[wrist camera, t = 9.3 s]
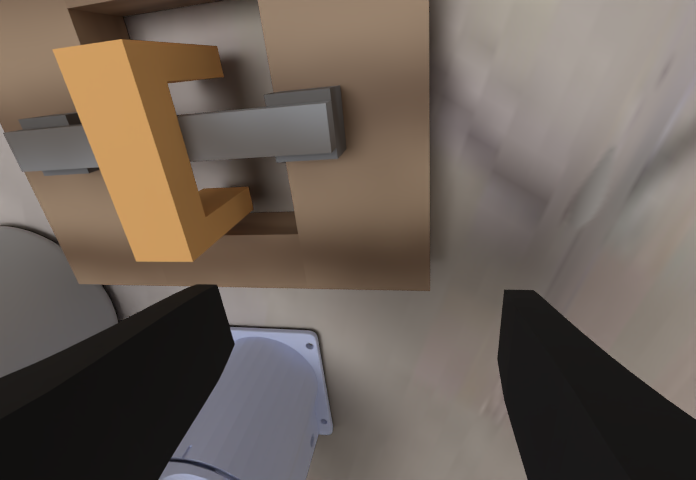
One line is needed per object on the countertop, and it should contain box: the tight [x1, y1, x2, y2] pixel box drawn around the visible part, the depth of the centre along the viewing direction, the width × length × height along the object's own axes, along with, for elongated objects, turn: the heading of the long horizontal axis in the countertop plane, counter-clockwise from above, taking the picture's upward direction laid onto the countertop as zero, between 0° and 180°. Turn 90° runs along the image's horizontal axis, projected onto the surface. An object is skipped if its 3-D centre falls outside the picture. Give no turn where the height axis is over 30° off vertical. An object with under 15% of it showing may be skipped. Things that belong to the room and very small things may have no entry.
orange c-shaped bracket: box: [52, 39, 253, 262], centre depth 15 cm, size 7×2×6 cm, turn 6°
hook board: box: [0, 0, 430, 291], centre depth 16 cm, size 16×20×6 cm
